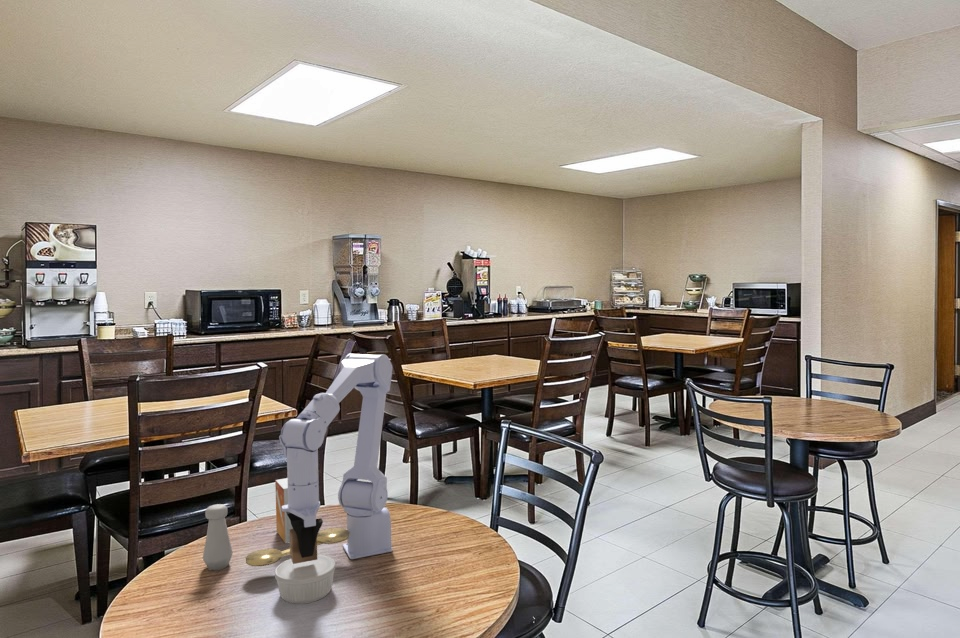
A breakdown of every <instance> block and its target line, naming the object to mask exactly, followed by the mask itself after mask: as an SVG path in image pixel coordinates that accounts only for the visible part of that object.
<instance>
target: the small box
mask: <svg viewBox="0 0 960 638" xmlns="http://www.w3.org/2000/svg"><path fill="white" fill-rule="evenodd" d="M283 505H288V479H287V477H286V478H280V479H275V513H276V514H275V515H276V518H275V519H276V522H275V524H276V533H277V534H278V535H279V537H280V538H281V539H282V542H284V544H289V543H288V542H290V532H289V529H293V527H292V525H291V521H290V519H289V517H288V515H287V513H286V512H283V511H282V506H283Z"/></svg>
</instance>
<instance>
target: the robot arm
mask: <svg viewBox="0 0 960 638" xmlns="http://www.w3.org/2000/svg"><path fill="white" fill-rule="evenodd" d="M392 377H393V365H392V362H391V360H390V358H389V357H388V355H386V354H384V353H383V354H367V353H366V354H364V353H363V354H362V353H352V352H350V353H347V354H346V355H345V357H344V358H343V360H341V363H340V372H339V373H338V375H337V376H336V377H335V379H334V380H333V381H332V383H331V384H330V386H329V387H328V389H327V390H326V392H320V393H317V394H314V395H313V397H312V399H311V401H309V403H308V404H307V405H306V407H305V408H304V409H303V410H302V411H301V412H300V413H299V414H298V416H297V417H296V418H291V419H289V420H288V421H286V422H285V423H284V424H283V426H282V428H281V430H280V435H279V436H278V439H279V440H278V441H279V443H280V446H281V447H282V448H283V456H284V457H285V458H286V469H287V471H286V472H287V473H286V474H287V477H286V478H287V479H288V505H283V506H282V511H283V512H286V513H287V515H288V517H289V519H290V521H291V525H292V527H293V529H294V531H295V533H296V536H297V539H298V545H299V550H300V554H301V557H302V558H304V557H309V556H313V553H314V548H315V543H316V538H317V535H318V533H319V532H320V531H321V530H320V529H321V527H322V526H323V521H324V520H323V519H322V518H316V517H317V514H318V512H319V510H320V507H321V501H320V493H319V492H320V490H319V489H320V488H319V487H320V486H319V483H320V482H319V480H320V479H319V450H318V449H319V448H320V447H322V446H323V445H322V444H324V440H325V435H326V433H327V430H328V427H329V425H330V424H331V423H332V422H333V420H334V419H335V418H336V417H337V415H338V414H339V412H340V410H341V408H340V407H341V406H340V403H341V402H342V401H343V400H344V399H345V398H346V396H348V395H349V393H351V391H352V390H353V389H355V390H356V391H358V392H359V393H360V395H362V401H361V402H362V403H361V409H360V410H361V411H360V417H359V425H358V433H357V439H356V440H357V441H356V449H355V456H354V463H353V465H352V467H351V468H350V469H348V470H347V471H345V472H344V474H343V477H342V481H341V484H340V486H339V489H338V492H337V498H338V499H337V500H338V503H339V505H340V507H342V508H343V512H344V513H346V528H347V529H346V530H348V531H349V538H348V539H346V540H347V541H346V543H343V544H342V547H343V549H344V551H345V553H346V555H347V556H348V557H349V559H350V560H355V559H361V558H366V557H371V556H376V555H380V554H387V553H390V552H391V553H392V552H393V548H392V521H391V519H392V518H391V514H390V510H389V509H388V507H387V506H386V505H387V503H388V496H389V495H388V494H389V493H388V488H387V486H388V485H387V483H388V482H387V481H388V478H387V476H386V475H385V474H384V473H383V472H382V471H381V470H380V469H379V468H378V462H379V455H380V448H381V439H382V430H383V422H384V417H385V416H384V415H385V406H386V398H387V393H388V392H390V390H391V383H392ZM364 480H365V481H364ZM385 506H386V507H385Z"/></svg>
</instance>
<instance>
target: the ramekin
mask: <svg viewBox="0 0 960 638" xmlns="http://www.w3.org/2000/svg"><path fill="white" fill-rule="evenodd" d="M335 571H336V561H335V560H334V558H332V557H330V556H328V555H323V554H317V560H312V561H307V562H301V563H296V564H293V563H292V559H291V558H289V559H287V560H284V561H282V562H281V563H280V564H279V565H277V566H276V567H275V569H274V578H275V580H276V583H277V588H278V592H279V595H280V597H281V598H282V599H283V600H284V601H285V602H287V603H289V604H295V605H305V604H309V603H313V602H316V601H319V600H321V599H323V598H325V597H326V596H327V595H328V594H329V593H330V591H331V589H332V586H333V582H334V574H335Z"/></svg>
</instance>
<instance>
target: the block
mask: <svg viewBox="0 0 960 638" xmlns="http://www.w3.org/2000/svg"><path fill="white" fill-rule="evenodd" d="M289 532H290V543H289V549H290V554H289V556H290V559H292V563H293V564H296V563H301V562H307V561H312V560H317V555H318V546H317V538H316V543H315V548H314V553H313V556H309V557H304V558H302V557H301V554H300V550H299V545H298V539H297V536H296V533H295V531H294V529H289Z"/></svg>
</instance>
